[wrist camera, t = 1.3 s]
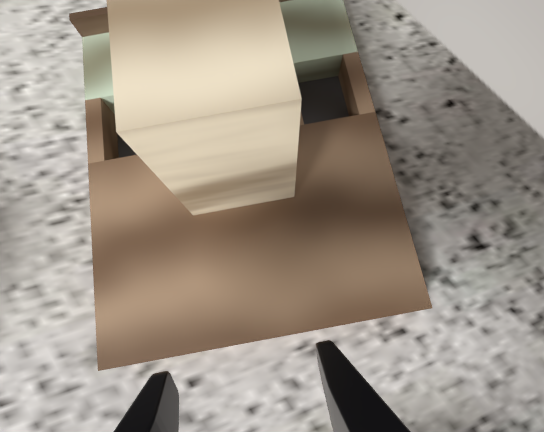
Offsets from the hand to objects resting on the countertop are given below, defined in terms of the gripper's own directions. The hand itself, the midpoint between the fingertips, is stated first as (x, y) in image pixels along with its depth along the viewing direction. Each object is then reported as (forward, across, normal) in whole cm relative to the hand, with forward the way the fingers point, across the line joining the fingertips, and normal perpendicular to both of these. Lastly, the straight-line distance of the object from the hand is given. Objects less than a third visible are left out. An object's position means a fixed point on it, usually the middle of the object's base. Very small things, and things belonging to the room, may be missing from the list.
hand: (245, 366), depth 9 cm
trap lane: (+17, 0, +1) cm, 17 cm away
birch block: (+15, 0, 0) cm, 15 cm away
